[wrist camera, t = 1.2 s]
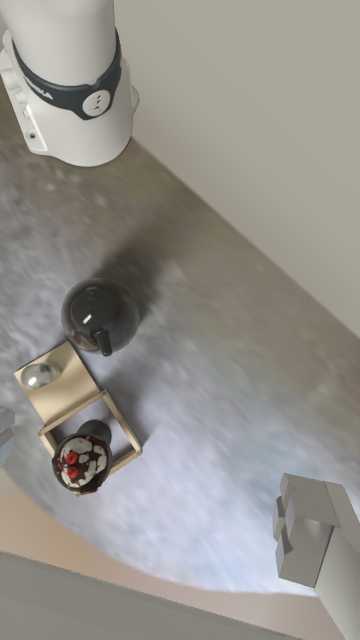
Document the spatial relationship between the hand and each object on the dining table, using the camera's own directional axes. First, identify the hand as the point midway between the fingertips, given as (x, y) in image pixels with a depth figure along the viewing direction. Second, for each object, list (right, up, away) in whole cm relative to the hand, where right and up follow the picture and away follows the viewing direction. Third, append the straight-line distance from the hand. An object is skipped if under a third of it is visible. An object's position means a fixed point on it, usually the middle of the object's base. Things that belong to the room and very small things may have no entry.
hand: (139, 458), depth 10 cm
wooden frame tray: (-14, -9, +39) cm, 42 cm away
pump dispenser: (-10, +4, +40) cm, 42 cm away
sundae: (-11, -13, +39) cm, 42 cm away
